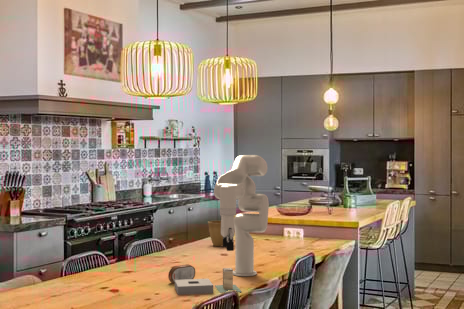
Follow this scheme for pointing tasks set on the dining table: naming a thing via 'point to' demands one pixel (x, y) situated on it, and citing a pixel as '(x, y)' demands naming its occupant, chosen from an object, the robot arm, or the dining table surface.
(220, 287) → the mat
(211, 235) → the plant pot
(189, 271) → the tin
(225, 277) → the plug
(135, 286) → the dining table surface
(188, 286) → the grey plate with hole
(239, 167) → the robot arm
